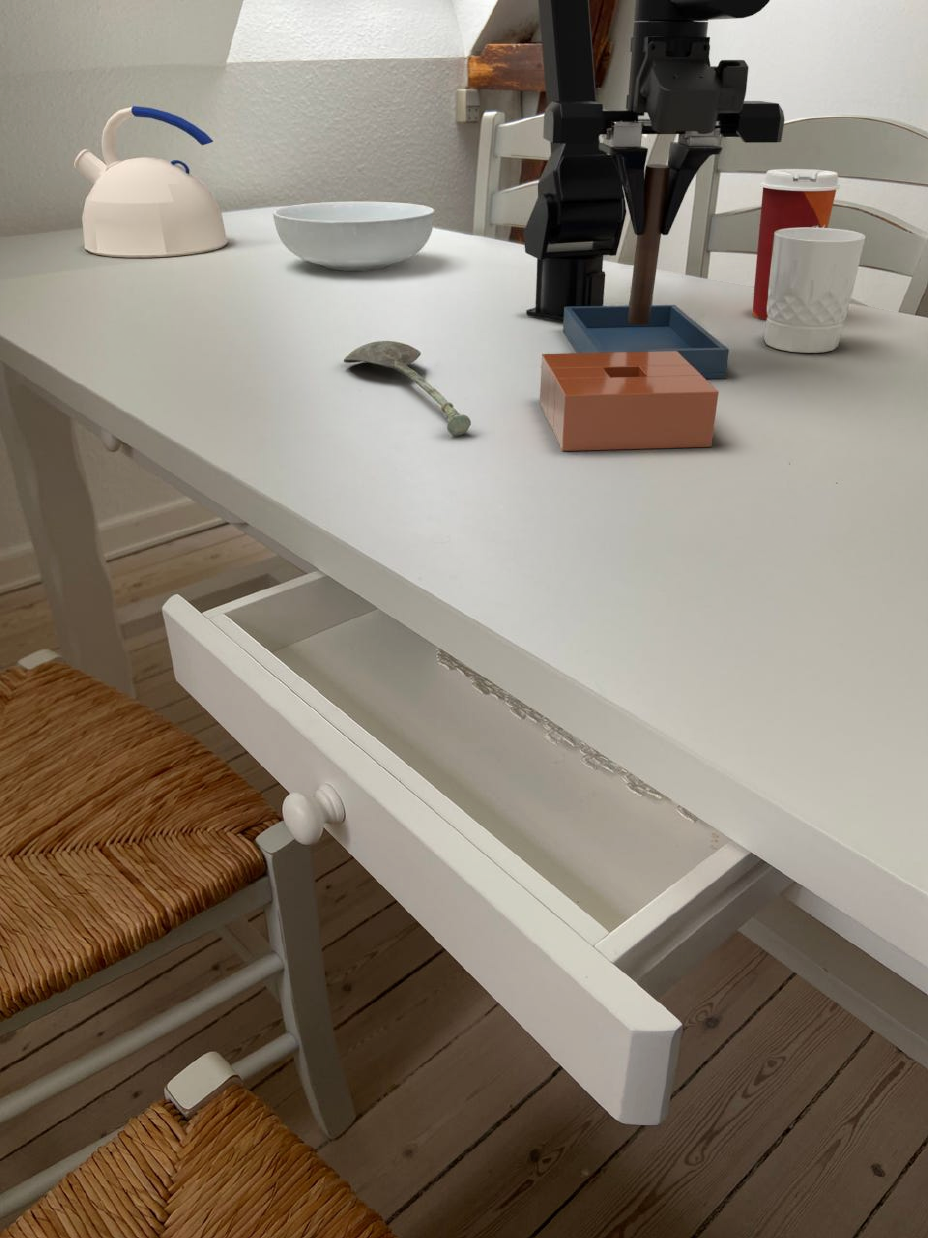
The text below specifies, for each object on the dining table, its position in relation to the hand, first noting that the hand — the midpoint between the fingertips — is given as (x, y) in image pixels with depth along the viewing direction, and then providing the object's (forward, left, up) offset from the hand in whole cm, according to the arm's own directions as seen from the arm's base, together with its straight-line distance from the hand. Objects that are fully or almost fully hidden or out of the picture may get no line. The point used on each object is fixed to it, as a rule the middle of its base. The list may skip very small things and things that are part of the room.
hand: (650, 234), depth 83 cm
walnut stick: (-1, +1, -8) cm, 8 cm away
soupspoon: (-8, -22, -11) cm, 26 cm away
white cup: (+9, +14, -11) cm, 20 cm away
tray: (-1, +1, -11) cm, 11 cm away
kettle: (-86, +5, -11) cm, 87 cm away
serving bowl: (-53, +14, -11) cm, 56 cm away
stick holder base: (+9, -17, -11) cm, 22 cm away
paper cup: (+2, +24, -11) cm, 27 cm away
